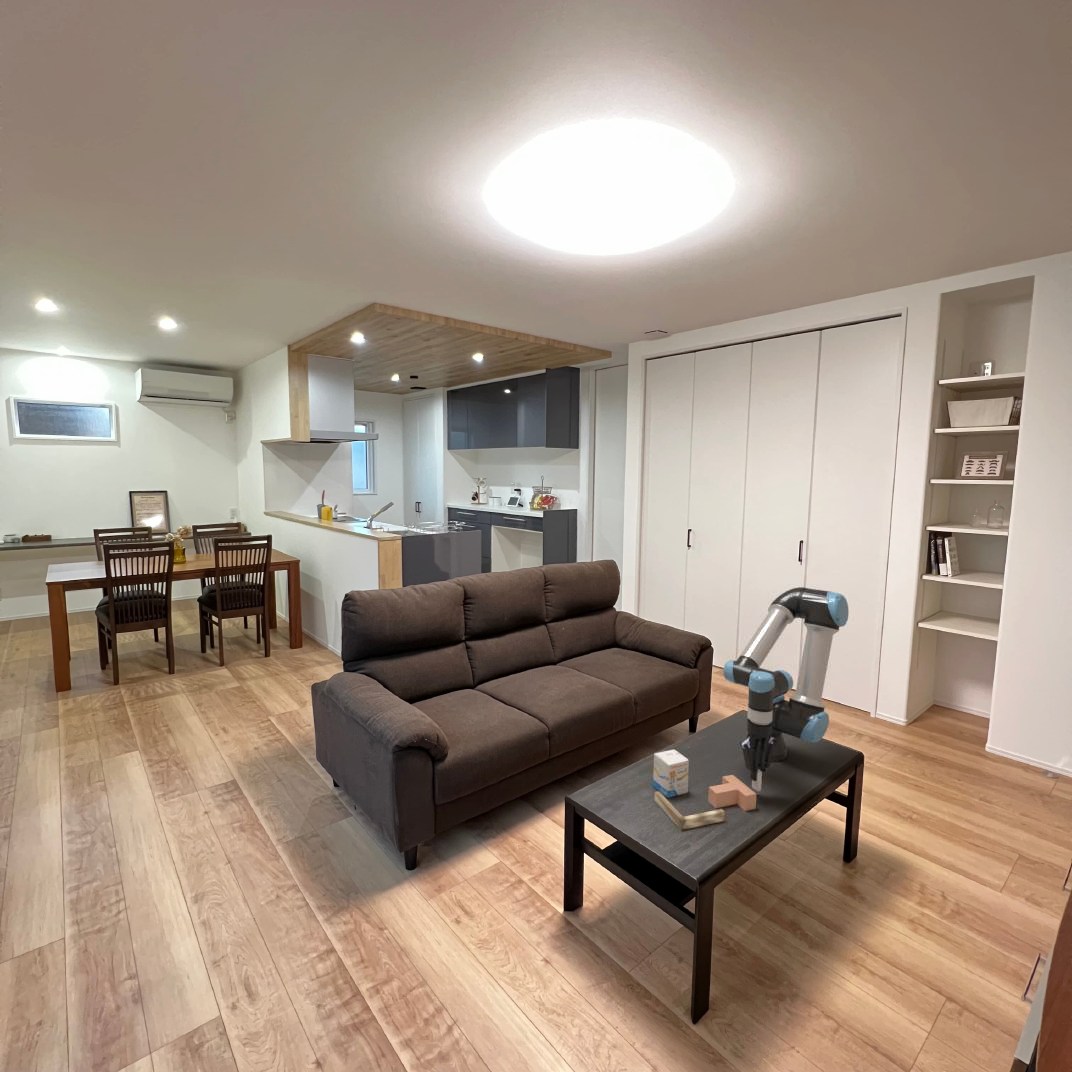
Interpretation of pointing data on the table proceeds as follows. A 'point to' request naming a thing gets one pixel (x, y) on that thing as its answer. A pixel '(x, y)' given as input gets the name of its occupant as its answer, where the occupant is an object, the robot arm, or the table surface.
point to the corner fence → (688, 820)
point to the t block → (732, 794)
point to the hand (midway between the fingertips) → (756, 788)
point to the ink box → (670, 773)
